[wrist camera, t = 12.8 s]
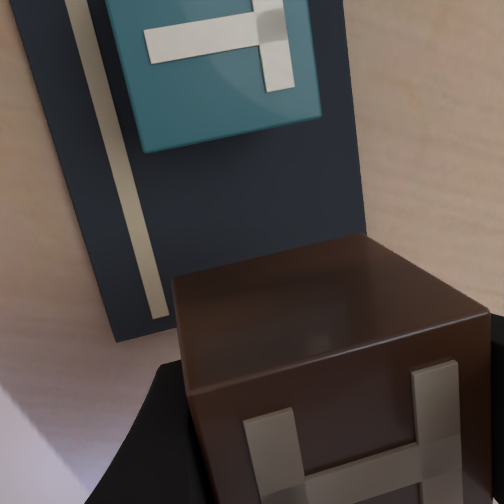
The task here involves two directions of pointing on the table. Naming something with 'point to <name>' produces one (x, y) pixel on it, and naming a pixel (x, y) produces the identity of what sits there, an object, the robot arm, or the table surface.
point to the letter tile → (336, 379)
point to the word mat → (186, 166)
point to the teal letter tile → (214, 67)
